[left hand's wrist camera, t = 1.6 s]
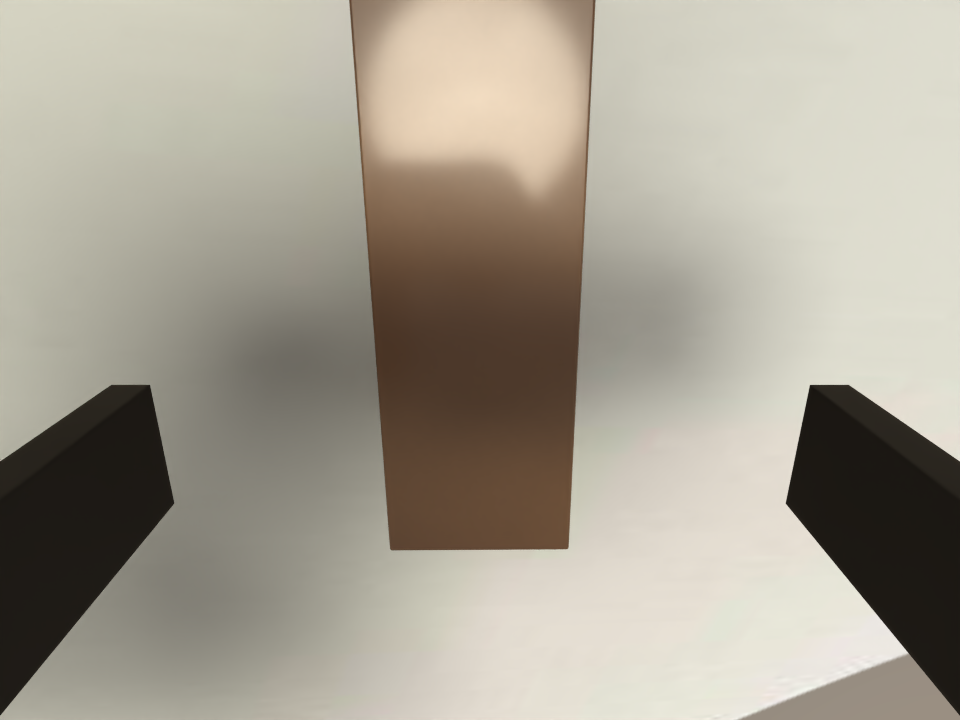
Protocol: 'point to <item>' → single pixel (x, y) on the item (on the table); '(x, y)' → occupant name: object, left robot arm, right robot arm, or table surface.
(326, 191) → the table surface
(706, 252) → the table surface
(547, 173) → the thick board
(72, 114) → the table surface
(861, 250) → the table surface
